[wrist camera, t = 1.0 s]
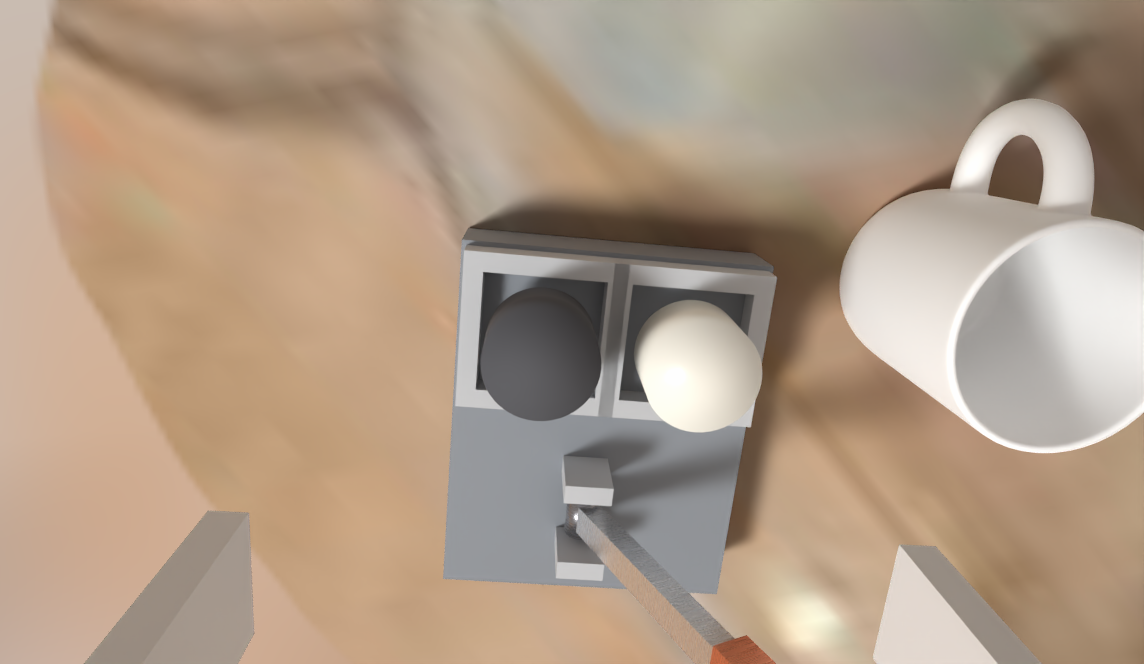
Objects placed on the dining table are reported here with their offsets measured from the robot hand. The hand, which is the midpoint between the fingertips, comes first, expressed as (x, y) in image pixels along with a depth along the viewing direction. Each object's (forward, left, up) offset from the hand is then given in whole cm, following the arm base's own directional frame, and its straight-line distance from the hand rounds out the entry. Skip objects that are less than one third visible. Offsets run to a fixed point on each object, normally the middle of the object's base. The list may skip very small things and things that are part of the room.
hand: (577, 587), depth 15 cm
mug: (-5, +17, -21) cm, 27 cm away
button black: (0, -1, -16) cm, 16 cm away
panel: (+4, +2, -21) cm, 21 cm away
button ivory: (0, +5, -16) cm, 17 cm away
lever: (+8, +2, -17) cm, 19 cm away
